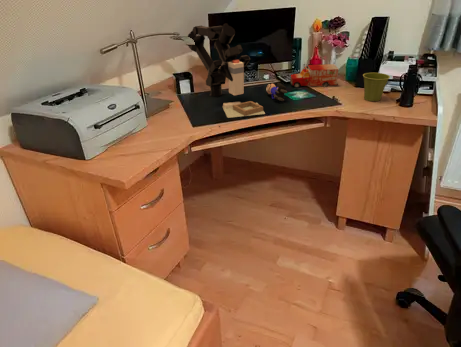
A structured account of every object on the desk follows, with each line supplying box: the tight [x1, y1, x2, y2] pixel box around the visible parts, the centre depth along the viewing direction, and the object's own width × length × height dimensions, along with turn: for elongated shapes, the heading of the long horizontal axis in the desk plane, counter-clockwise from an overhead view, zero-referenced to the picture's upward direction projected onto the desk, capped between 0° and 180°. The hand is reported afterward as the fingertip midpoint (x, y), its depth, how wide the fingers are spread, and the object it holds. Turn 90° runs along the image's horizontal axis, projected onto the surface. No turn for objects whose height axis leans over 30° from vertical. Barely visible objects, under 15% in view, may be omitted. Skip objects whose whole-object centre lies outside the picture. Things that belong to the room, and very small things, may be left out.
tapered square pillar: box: [228, 58, 245, 96], centre depth 159 cm, size 5×5×15 cm
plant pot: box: [362, 72, 391, 102], centre depth 166 cm, size 12×12×11 cm
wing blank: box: [222, 101, 241, 110], centre depth 164 cm, size 3×8×2 cm, turn 100°
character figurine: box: [265, 82, 288, 102], centre depth 173 cm, size 8×7×15 cm
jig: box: [222, 100, 266, 119], centre depth 160 cm, size 15×17×3 cm
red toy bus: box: [289, 63, 339, 88], centre depth 190 cm, size 11×25×10 cm, turn 89°
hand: (237, 79), depth 159 cm, fingers closed on tapered square pillar, 5 cm apart
